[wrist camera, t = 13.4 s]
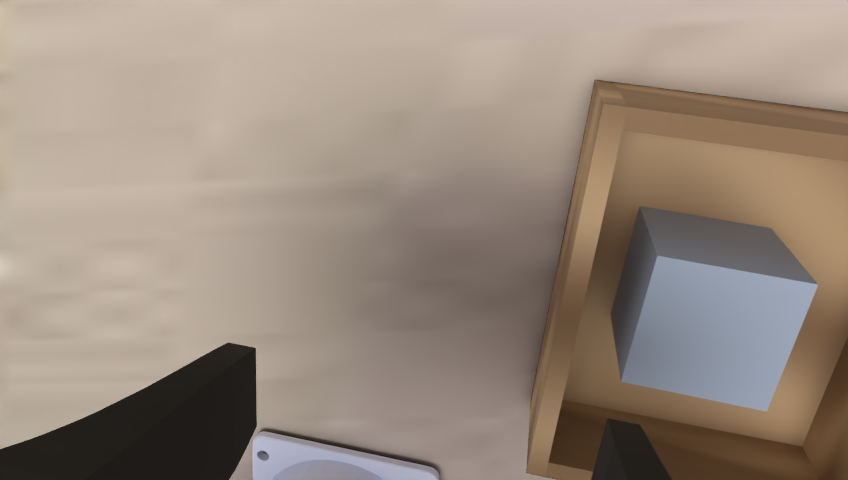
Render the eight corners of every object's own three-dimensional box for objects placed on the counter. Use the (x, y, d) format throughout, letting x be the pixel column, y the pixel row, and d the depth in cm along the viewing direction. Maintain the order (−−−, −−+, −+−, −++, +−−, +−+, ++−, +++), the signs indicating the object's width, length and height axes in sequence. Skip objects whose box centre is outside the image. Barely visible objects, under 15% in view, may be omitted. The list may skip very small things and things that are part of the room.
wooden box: (809, 453, 23) (855, 542, 20) (530, 399, 25) (526, 473, 21) (948, 125, 19) (1044, 162, 15) (594, 79, 20) (603, 103, 16)
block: (731, 338, 22) (766, 411, 18) (610, 314, 22) (621, 381, 19) (771, 228, 20) (818, 284, 16) (639, 205, 21) (657, 255, 17)
